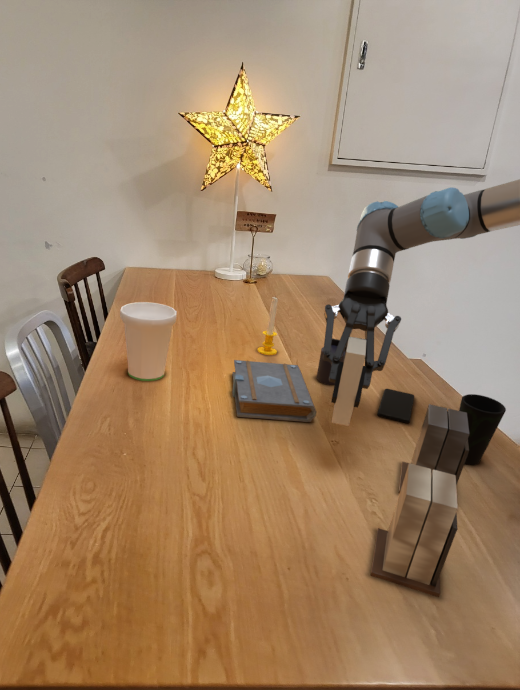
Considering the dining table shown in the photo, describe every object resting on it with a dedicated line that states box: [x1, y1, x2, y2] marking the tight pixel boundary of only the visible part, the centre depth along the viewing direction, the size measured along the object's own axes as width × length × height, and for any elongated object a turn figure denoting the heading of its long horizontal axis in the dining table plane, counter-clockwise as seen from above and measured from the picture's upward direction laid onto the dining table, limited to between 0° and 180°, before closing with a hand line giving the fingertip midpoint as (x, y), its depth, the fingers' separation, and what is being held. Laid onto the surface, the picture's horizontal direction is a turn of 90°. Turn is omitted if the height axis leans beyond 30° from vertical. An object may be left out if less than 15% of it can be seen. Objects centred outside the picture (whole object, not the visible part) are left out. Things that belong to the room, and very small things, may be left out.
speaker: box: [316, 337, 347, 386], centre depth 130 cm, size 8×6×10 cm
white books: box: [370, 462, 459, 598], centre depth 74 cm, size 9×10×14 cm
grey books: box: [398, 403, 469, 495], centre depth 92 cm, size 9×10×14 cm
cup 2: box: [458, 393, 507, 466], centre depth 102 cm, size 8×8×12 cm
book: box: [231, 359, 317, 423], centre depth 119 cm, size 21×16×5 cm
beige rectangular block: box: [331, 335, 367, 427], centre depth 92 cm, size 3×8×13 cm, turn 165°
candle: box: [257, 295, 279, 356], centre depth 142 cm, size 5×5×16 cm
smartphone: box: [377, 388, 415, 424], centre depth 122 cm, size 7×1×15 cm
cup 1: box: [119, 301, 178, 382], centre depth 122 cm, size 12×12×15 cm
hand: (345, 402), depth 90 cm, fingers closed on beige rectangular block, 3 cm apart
